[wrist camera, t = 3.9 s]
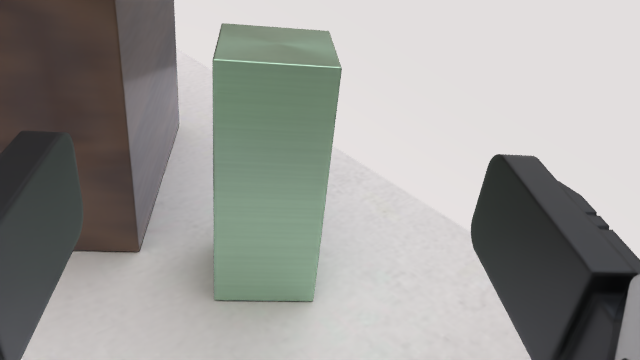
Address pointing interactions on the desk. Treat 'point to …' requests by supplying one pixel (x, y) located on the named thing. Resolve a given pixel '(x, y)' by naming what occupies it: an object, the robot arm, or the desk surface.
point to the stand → (96, 101)
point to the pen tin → (271, 159)
